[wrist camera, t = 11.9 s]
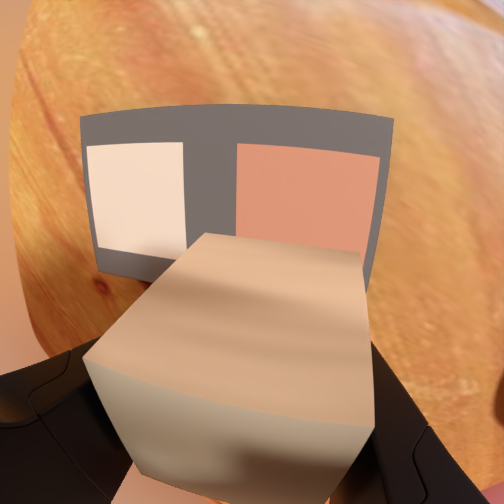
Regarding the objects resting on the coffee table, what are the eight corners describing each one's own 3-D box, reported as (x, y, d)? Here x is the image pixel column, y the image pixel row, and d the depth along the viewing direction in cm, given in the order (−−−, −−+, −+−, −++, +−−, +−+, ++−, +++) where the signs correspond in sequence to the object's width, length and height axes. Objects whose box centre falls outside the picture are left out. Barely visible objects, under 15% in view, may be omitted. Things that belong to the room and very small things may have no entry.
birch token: (332, 368, 9) (313, 517, 5) (210, 347, 10) (141, 473, 6) (359, 252, 7) (374, 426, 3) (204, 232, 8) (82, 357, 4)
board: (359, 310, 18) (360, 316, 17) (102, 267, 22) (98, 271, 21) (391, 118, 13) (393, 118, 13) (86, 115, 17) (79, 116, 16)
